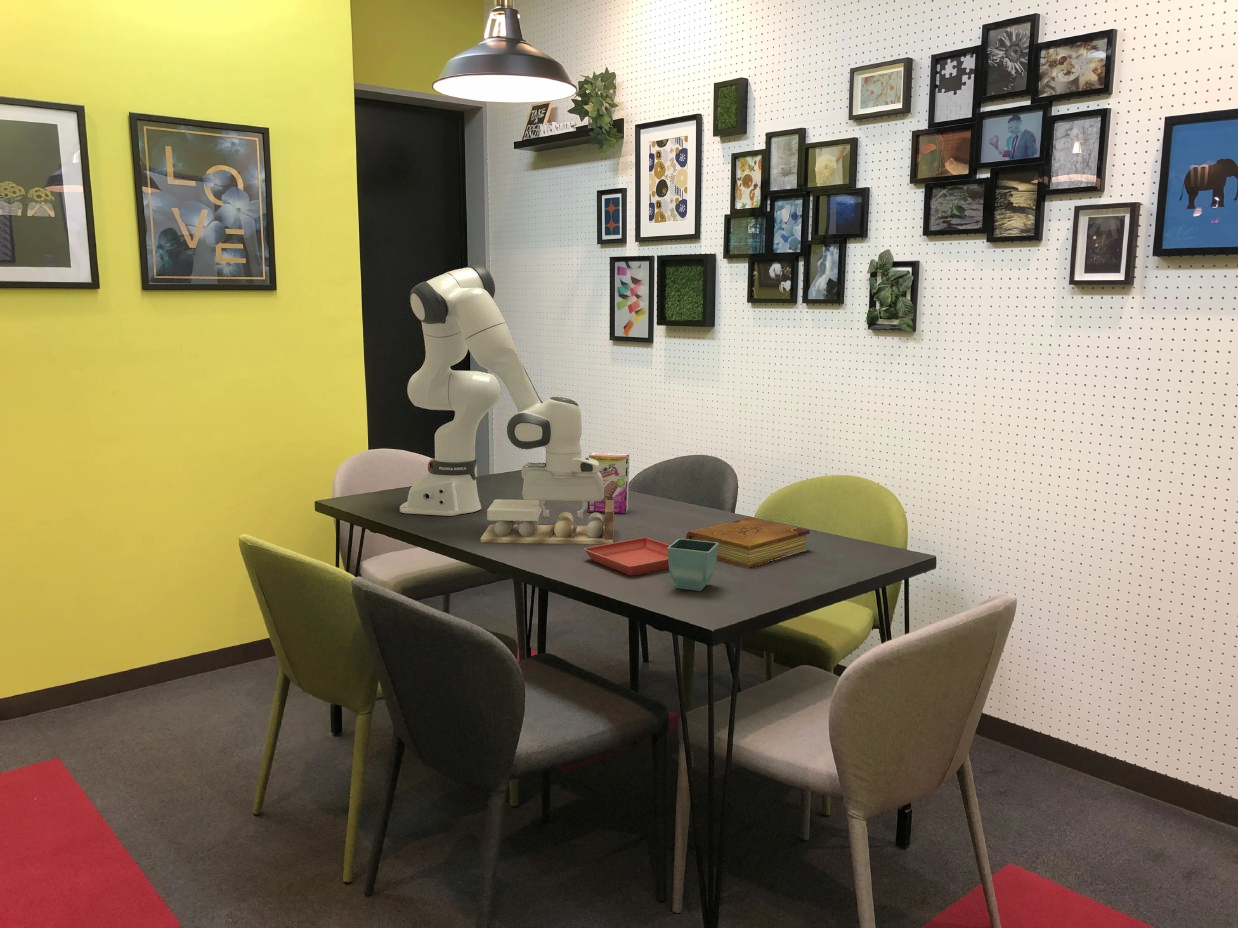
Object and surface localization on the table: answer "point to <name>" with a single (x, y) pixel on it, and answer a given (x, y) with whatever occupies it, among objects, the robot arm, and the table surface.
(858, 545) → the table surface
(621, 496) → the candy bar box
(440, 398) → the robot arm
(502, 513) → the slab
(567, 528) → the roller
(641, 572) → the plant saucer
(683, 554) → the flower pot
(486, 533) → the roller bed
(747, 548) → the diary
